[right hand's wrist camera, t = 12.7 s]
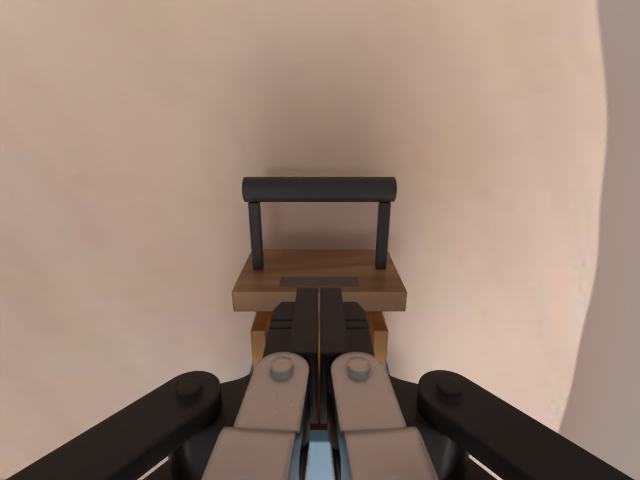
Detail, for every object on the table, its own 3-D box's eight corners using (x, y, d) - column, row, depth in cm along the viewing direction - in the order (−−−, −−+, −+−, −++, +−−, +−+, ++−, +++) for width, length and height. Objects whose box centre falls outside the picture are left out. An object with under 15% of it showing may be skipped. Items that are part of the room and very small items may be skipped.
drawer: (246, 168, 23) (221, 188, 17) (392, 168, 23) (416, 189, 17) (264, 428, 30) (251, 501, 25) (375, 428, 30) (387, 501, 25)
